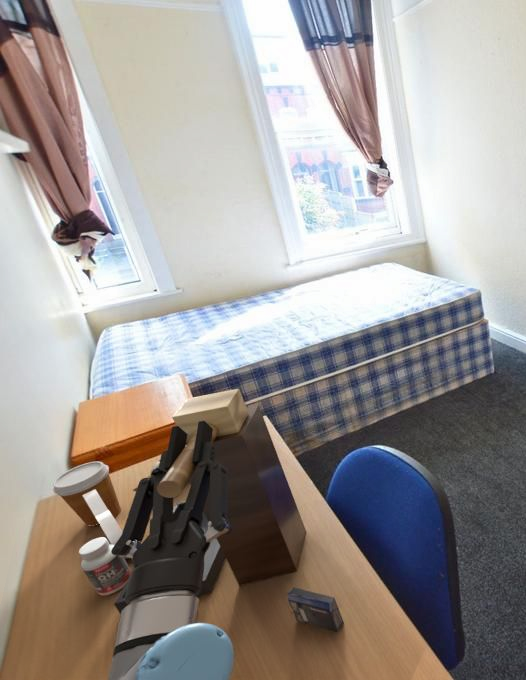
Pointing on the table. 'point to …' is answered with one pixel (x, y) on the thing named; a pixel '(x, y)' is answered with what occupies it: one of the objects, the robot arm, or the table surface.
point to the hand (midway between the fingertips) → (192, 428)
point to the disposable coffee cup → (87, 489)
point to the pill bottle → (104, 566)
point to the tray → (211, 562)
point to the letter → (103, 516)
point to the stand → (257, 505)
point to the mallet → (216, 411)
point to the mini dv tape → (315, 609)
